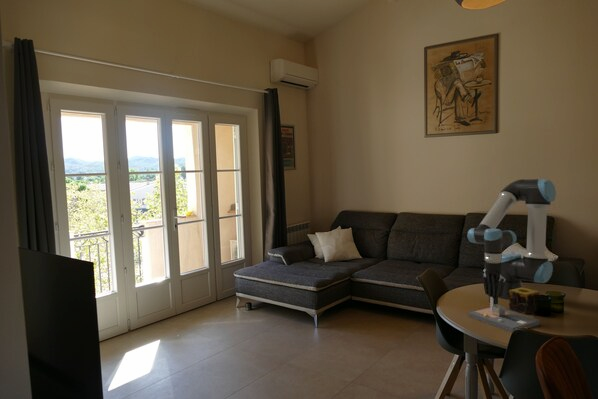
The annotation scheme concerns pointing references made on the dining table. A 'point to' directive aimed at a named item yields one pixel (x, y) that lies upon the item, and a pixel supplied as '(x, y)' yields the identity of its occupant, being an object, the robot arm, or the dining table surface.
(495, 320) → the breaker panel
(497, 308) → the breaker slider
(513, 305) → the brown and yellow box
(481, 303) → the dining table surface
